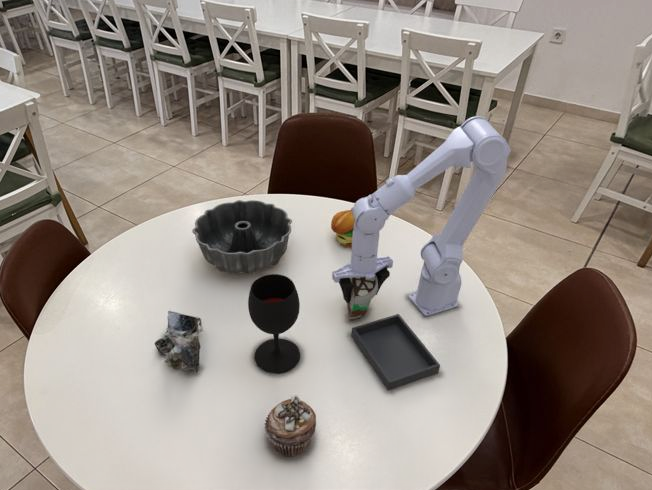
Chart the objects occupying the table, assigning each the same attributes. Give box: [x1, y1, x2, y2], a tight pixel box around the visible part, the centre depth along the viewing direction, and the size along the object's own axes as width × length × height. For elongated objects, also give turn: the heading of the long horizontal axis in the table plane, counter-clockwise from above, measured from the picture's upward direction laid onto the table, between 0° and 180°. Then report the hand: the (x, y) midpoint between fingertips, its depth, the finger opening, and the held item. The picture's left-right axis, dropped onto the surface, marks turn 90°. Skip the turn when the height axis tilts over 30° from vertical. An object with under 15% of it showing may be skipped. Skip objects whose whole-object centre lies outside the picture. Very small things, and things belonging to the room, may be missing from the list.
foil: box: [154, 310, 204, 374], centre depth 111 cm, size 12×11×15 cm
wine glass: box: [247, 273, 301, 375], centre depth 104 cm, size 10×10×20 cm
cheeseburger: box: [330, 209, 355, 248], centre depth 140 cm, size 10×11×10 cm
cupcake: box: [263, 394, 317, 458], centre depth 92 cm, size 10×10×10 cm
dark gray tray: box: [350, 313, 441, 392], centre depth 110 cm, size 12×17×3 cm
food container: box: [346, 260, 379, 322], centre depth 117 cm, size 12×6×10 cm, turn 1°
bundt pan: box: [192, 199, 293, 276], centre depth 135 cm, size 26×26×10 cm
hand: (360, 296), depth 119 cm, fingers closed on food container, 7 cm apart
